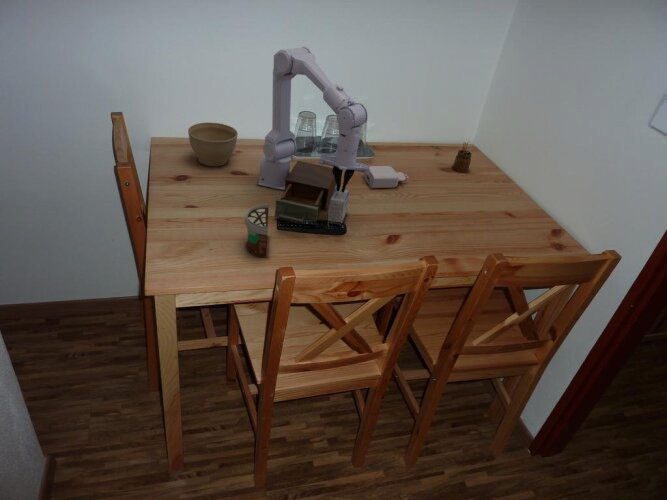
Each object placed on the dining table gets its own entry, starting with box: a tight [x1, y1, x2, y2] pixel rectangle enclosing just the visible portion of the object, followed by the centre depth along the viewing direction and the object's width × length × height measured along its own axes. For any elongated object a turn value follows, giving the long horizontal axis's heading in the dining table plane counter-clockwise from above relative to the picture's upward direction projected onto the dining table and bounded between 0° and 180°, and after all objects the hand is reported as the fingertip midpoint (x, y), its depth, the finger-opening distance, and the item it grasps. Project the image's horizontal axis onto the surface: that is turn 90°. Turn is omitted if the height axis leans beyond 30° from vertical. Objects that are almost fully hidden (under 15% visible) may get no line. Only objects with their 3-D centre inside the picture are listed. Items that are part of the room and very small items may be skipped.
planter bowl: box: [187, 122, 238, 167], centre depth 173 cm, size 16×16×11 cm
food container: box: [244, 204, 270, 258], centre depth 135 cm, size 12×6×10 cm, turn 5°
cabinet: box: [284, 160, 336, 211], centre depth 163 cm, size 15×14×8 cm
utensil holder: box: [452, 141, 472, 173], centre depth 194 cm, size 6×6×12 cm
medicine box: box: [327, 187, 350, 224], centre depth 153 cm, size 8×4×9 cm, turn 168°
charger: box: [363, 165, 410, 189], centre depth 178 cm, size 5×9×15 cm
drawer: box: [274, 183, 325, 225], centre depth 151 cm, size 19×12×6 cm, turn 168°
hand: (340, 190), depth 149 cm, fingers closed
